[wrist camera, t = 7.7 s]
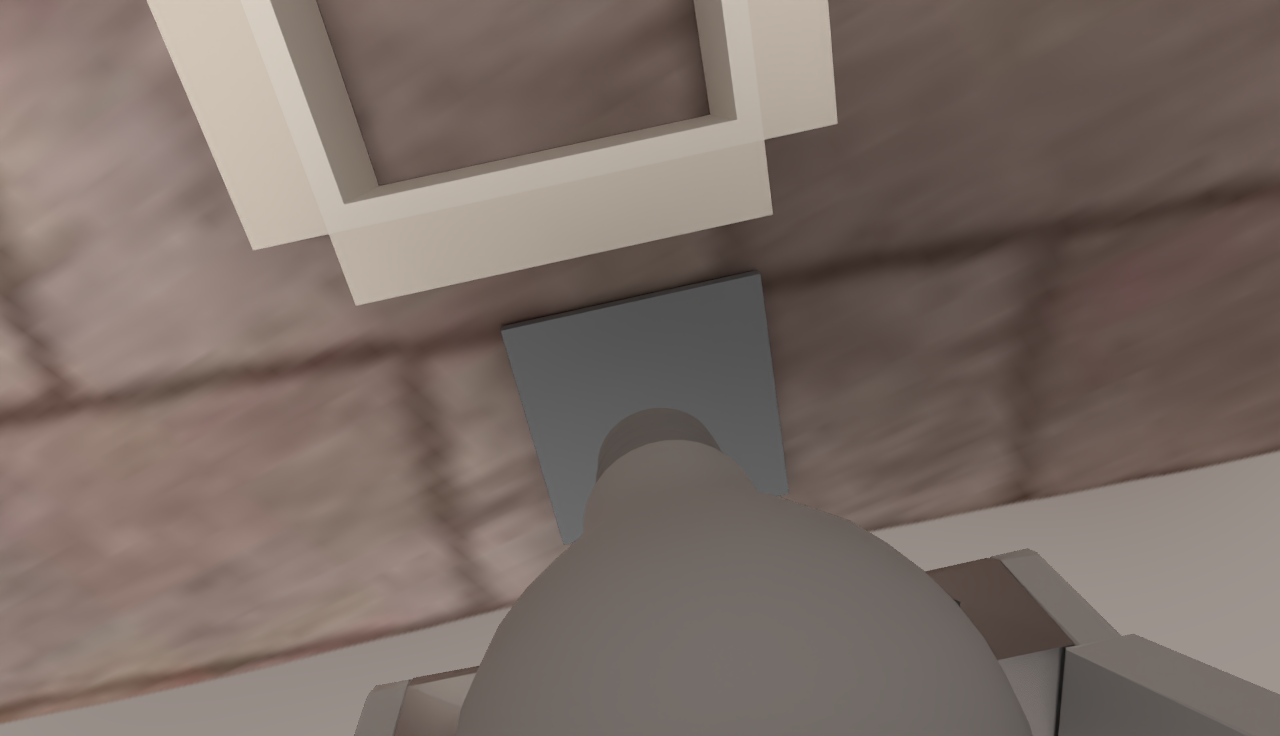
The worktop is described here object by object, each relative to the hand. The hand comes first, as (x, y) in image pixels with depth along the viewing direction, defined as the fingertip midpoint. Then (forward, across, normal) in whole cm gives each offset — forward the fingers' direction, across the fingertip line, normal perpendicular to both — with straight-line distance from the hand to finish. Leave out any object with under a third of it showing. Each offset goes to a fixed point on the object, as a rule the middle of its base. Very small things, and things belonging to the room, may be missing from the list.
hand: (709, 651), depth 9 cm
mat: (+21, 0, +7) cm, 22 cm away
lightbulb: (+6, 0, 0) cm, 6 cm away
